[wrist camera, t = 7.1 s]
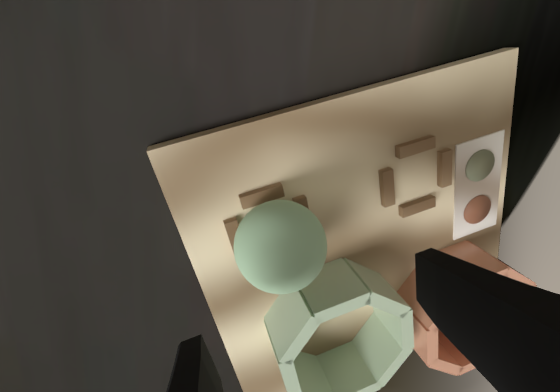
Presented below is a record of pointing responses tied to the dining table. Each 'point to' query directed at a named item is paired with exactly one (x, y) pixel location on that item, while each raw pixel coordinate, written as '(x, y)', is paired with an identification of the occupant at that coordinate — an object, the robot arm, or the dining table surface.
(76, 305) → the dining table surface
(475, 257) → the terracotta tube
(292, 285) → the sage ball
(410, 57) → the dining table surface
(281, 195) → the board
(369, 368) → the green octagonal ring
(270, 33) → the dining table surface
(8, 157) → the dining table surface
